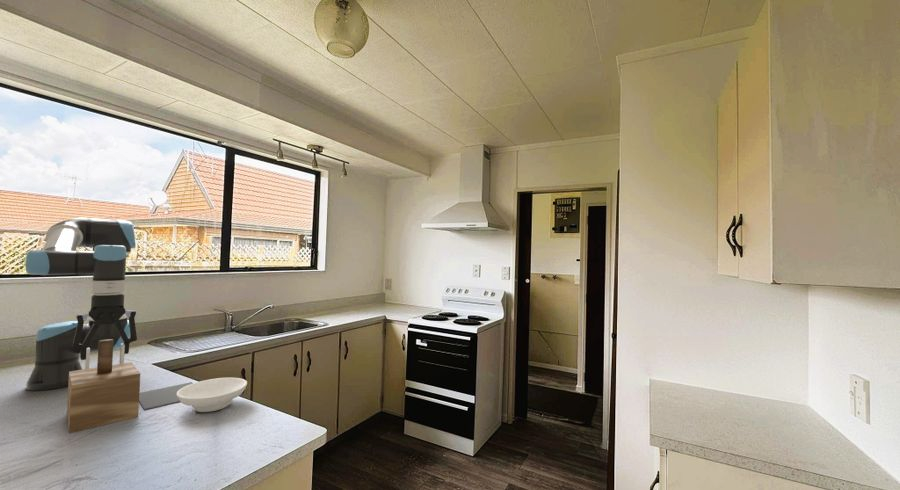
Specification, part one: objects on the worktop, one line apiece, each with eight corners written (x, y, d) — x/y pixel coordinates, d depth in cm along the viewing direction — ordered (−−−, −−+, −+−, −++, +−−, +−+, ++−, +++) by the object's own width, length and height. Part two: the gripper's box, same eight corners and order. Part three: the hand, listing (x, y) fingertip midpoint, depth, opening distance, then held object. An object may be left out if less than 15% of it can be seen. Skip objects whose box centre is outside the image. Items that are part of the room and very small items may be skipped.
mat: (134, 394, 129) (134, 393, 129) (191, 383, 142) (191, 382, 142) (144, 410, 116) (144, 409, 116) (205, 395, 129) (205, 394, 129)
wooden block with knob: (66, 414, 113) (70, 339, 113) (129, 400, 124) (132, 332, 125) (69, 433, 101) (73, 349, 102) (138, 416, 112) (141, 341, 113)
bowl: (259, 401, 125) (260, 381, 125) (205, 425, 106) (206, 402, 107) (218, 393, 131) (219, 374, 132) (160, 415, 113) (161, 393, 113)
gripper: (62, 297, 104) (57, 377, 103) (151, 292, 119) (148, 363, 118) (61, 295, 109) (57, 371, 108) (147, 291, 124) (144, 358, 123)
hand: (104, 367), depth 113 cm, fingers open, 7 cm apart
